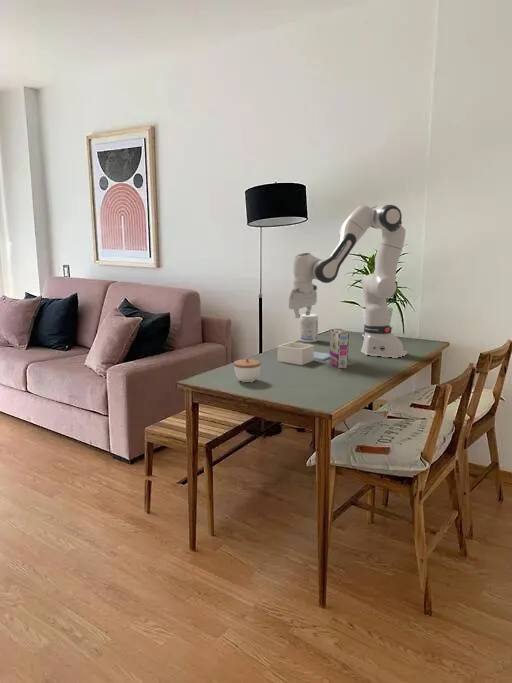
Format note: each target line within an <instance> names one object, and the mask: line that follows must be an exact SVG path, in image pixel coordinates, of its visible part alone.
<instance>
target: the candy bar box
mask: <svg viewBox="0 0 512 683" xmlns="http://www.w3.org/2000/svg"><path fill="white" fill-rule="evenodd" d="M329 336H330V337H329V354H330V358H329V363H330V364H332V365H333V366H335V367H336V368H338V370H347V369H348V360H349V343H350V342H349V340H350V339H349V338H350V332H348V331H346V330H344V329H342V328H330V335H329ZM346 368H347V369H346Z"/></svg>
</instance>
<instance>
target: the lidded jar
mask: <svg viewBox="0 0 512 683" xmlns="http://www.w3.org/2000/svg"><path fill="white" fill-rule="evenodd" d="M233 366H234V374H235V377H236V378H237V379H238V380H239V382H240V381H242V382H241V383H243V382H251V383H254V382H255V381H256V379H258V377H259V375H260V372H261V361H260V360H257V359H250V358H248V357H246V358H245V359H238V360H235V361H234V362H233ZM253 381H254V382H253Z"/></svg>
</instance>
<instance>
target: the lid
mask: <svg viewBox="0 0 512 683" xmlns="http://www.w3.org/2000/svg"><path fill="white" fill-rule="evenodd" d="M328 359H330V353H324V352H319V351H314V360H315V361H316V360H317V361H326V360H328Z"/></svg>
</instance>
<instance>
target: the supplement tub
mask: <svg viewBox="0 0 512 683" xmlns="http://www.w3.org/2000/svg"><path fill="white" fill-rule="evenodd" d="M318 321H319V318H318V314H316V313H310V315H306V313H302V314H300V341H301V342H303V343H315V342H317V341H319V340H318V337H319V333H318V331H319V329H318V328H319V322H318Z"/></svg>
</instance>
